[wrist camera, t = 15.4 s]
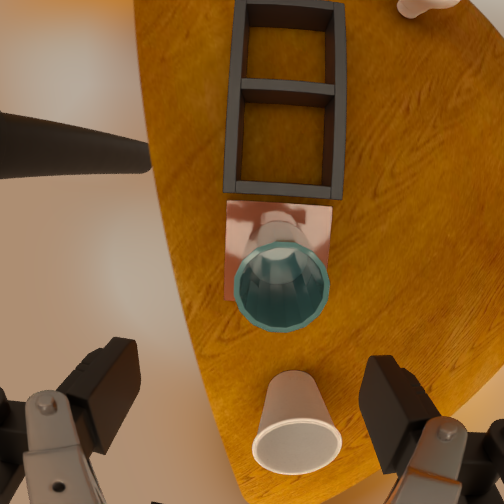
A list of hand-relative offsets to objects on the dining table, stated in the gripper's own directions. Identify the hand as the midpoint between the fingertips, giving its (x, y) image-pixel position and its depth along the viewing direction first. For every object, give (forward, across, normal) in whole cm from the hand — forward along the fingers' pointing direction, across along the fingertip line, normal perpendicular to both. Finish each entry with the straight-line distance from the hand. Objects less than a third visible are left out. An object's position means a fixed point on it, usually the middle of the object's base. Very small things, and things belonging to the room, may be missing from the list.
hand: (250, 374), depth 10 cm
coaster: (+22, -2, +1) cm, 22 cm away
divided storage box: (+22, -2, -14) cm, 26 cm away
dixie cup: (+22, -5, +17) cm, 28 cm away
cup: (+21, -2, +1) cm, 21 cm away
